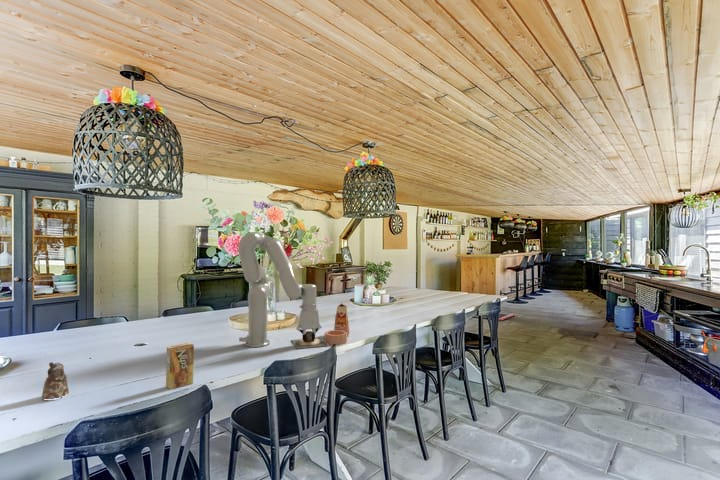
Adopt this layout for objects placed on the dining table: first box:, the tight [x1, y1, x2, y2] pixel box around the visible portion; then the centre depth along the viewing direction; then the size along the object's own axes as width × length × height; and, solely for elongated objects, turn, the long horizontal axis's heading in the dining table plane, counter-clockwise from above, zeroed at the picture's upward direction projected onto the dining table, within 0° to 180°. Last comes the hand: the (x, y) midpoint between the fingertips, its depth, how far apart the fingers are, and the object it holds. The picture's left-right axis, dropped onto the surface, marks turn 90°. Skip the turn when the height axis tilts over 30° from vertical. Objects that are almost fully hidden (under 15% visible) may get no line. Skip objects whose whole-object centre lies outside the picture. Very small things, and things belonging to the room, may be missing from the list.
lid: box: [296, 330, 322, 346], centre depth 202 cm, size 13×13×6 cm
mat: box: [290, 337, 328, 350], centre depth 202 cm, size 16×16×1 cm
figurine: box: [41, 361, 69, 400], centre depth 132 cm, size 7×7×12 cm
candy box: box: [165, 342, 195, 390], centre depth 144 cm, size 9×4×15 cm, turn 137°
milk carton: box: [333, 301, 350, 338], centre depth 223 cm, size 9×9×20 cm
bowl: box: [323, 329, 348, 346], centre depth 207 cm, size 12×12×5 cm
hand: (308, 340), depth 202 cm, fingers closed on lid, 3 cm apart
